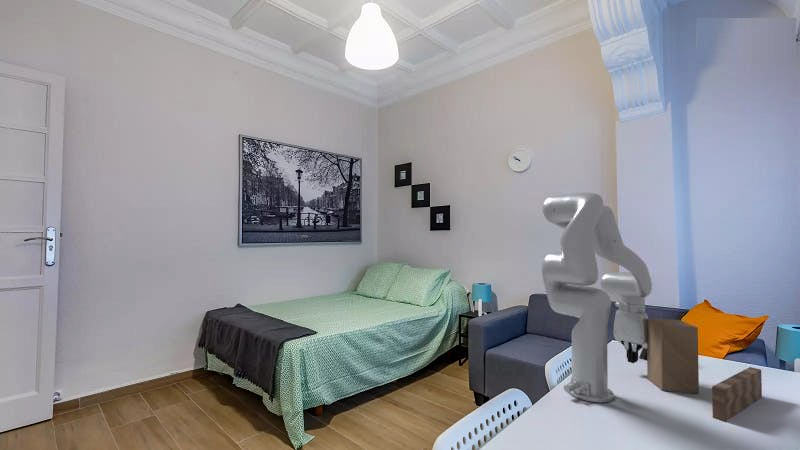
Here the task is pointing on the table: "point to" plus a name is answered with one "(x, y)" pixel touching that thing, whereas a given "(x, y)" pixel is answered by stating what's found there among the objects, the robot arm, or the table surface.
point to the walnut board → (736, 393)
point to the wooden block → (672, 355)
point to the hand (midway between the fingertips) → (632, 361)
